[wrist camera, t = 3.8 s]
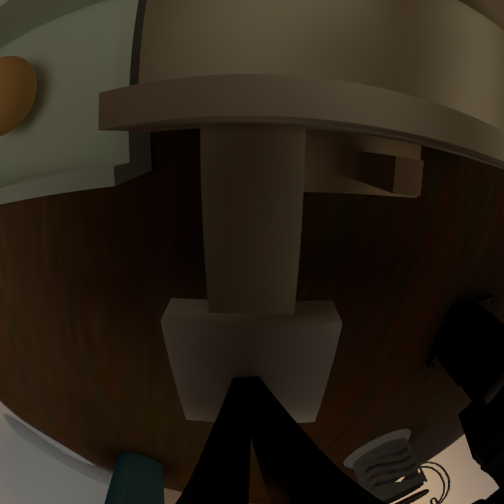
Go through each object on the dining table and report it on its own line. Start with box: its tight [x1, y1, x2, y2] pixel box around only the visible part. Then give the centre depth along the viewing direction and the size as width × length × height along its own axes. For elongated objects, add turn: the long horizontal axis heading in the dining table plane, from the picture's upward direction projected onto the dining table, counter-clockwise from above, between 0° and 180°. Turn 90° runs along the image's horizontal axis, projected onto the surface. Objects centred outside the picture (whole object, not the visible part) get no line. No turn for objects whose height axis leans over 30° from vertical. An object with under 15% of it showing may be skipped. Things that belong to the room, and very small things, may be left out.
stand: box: [304, 129, 424, 198], centre depth 8 cm, size 8×12×5 cm, turn 0°
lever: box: [98, 0, 504, 423], centre depth 6 cm, size 16×17×4 cm
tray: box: [0, 0, 152, 204], centre depth 7 cm, size 11×10×4 cm
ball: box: [0, 56, 37, 136], centre depth 7 cm, size 4×4×4 cm
